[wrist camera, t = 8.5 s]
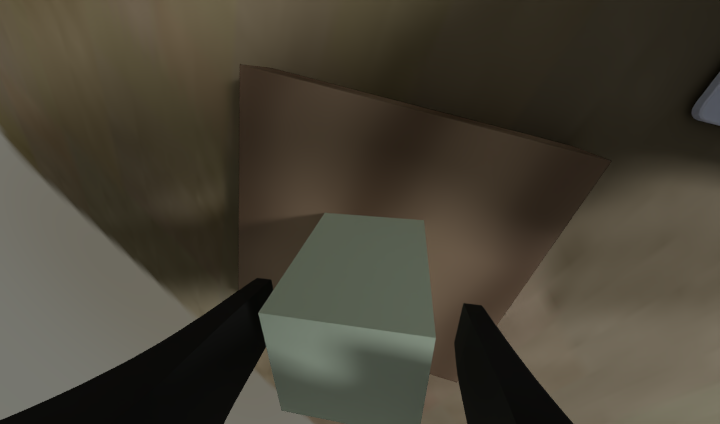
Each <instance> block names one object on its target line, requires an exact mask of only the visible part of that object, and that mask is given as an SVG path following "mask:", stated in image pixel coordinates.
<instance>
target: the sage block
mask: <svg viewBox="0 0 720 424" xmlns="http://www.w3.org/2000/svg"><path fill="white" fill-rule="evenodd" d="M258 314H259V318H260V322H261V327H262V331H263V335H264V339H265V343H266V348H267V352H268V356H269V360H270V364H271V368H272V373H273V377H274V381H275V385H276V389H277V393H278V398H279V402H280V406H281V410H282V411H287V412H292V413H296V414H301V415H306V416H311V417H316V418H321V419H326V420H331V421H336V422H341V423H346V424H421V418H422V413H423V407H424V401H425V396H426V390H427V385H428V379H429V374H430V368H431V363H432V357H433V351H434V346H435V340H436V334H435V324H434V314H433V305H432V295H431V285H430V275H429V265H428V255H427V246H426V236H425V226H424V220H415V219H401V218H388V217H374V216H361V215H347V214H334V213H324V215H323V216H322V218H321V219H320V221H319V222H318V224H317V225H316V227H315V228H314V230H313V231H312V233H311V234H310V236H309V237H308V239H307V240H306V242H305V243H304V245H303V246H302V248H301V249H300V251H299V252H298V254H297V255H296V257H295V258H294V260H293V261H292V263H291V264H290V266H289V267H288V269H287V270H286V272H285V273H284V275H283V276H282V278H281V279H280V281H279V282H278V284H277V285H276V287H275V288H274V290H273V291H272V293H271V294H270V296H269V297H268V299H267V300H266V302H265V303H264V305H263V306H262V308H261V309H260V311H259V313H258Z"/></svg>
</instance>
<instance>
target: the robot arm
mask: <svg viewBox="0 0 720 424" xmlns="http://www.w3.org/2000/svg"><path fill="white" fill-rule="evenodd" d="M692 116H693V118H694V119H696V120H698V121H702V122H706V123H710V124H714V125H718V126H720V72H719V73H718V75H717V76H716V77H715V78H714V80H713V81H712V82H711V84H710V85H709V86H708V88H707V89H706V90H705V91H704V93H703V94H702V95H701V97H700V98H699V99H698V100H697V102H696V103H695V105H694V106H693V108H692ZM272 291H273V285H272V280H271V279H263V278H256V279H255V280H253V281H251V282H250V283H249V284H247V285H246V286H244V287H243V288H241V289H240V290H239V291H237V292H236V293H234V294H233V295H231V296H230V297H229V298H227V299H226V300H224V301H223V302H222V303H220V304H219V305H217V306H216V307H214V308H213V309H211V310H210V311H209V312H207V313H206V314H204V315H203V316H201V317H200V318H198V319H197V320H195V321H193V322H192V323H190V324H189V325H187V326H186V327H184V328H183V329H181V330H179V331H178V332H176V333H175V334H173V335H172V336H170V337H168V338H167V339H165V340H164V341H162V342H160V343H158V344H157V345H155V346H153V347H152V348H150V349H148V350H146V351H144V352H143V353H141V354H139V355H137V356H136V357H134V358H132V359H130V360H128V361H127V362H125V363H123V364H121V365H119V366H117V367H115V368H113V369H111V370H109V371H107V372H105V373H103V374H101V375H99V376H97V377H95V378H93V379H91V380H89V381H87V382H85V383H83V384H81V385H79V386H77V387H75V388H73V389H71V390H69V391H66V392H64V393H62V394H60V395H57V396H55V397H53V398H51V399H49V400H47V401H44V402H42V403H40V404H37V405H35V406H33V407H31V408H28V409H26V410H24V411H22V412H19V413H17V414H14V415H12V416H10V417H7V418H5V419H2V420H0V424H224V422H225V420H226V418H227V416H228V414H229V412H230V410H231V408H232V407H233V404H234V403H235V401H236V399H237V397H238V396H239V394H240V392H241V390H242V389H243V387H244V385H245V383H246V381H247V379H248V378H249V376H250V374H251V373H252V371H253V369H254V367H255V366H256V364H257V362H258V360H259V358H260V357H261V355H262V353H263V351H264V349H265V348H266V343H265V339H264V335H263V331H262V327H261V322H260V318H259V314H258V313H259V311H260V309H261V308H262V306H263V305H264V303H265V302H266V300H267V299H268V297H269V296H270V294H271V293H272ZM454 348H455V358H456V368H457V376H458V381H459V386H460V390H461V395H462V400H463V405H464V410H465V414H466V419H467V424H573V423H572V421H571V420H570V419H569V418H568V417H567V416H566V415H565V413H564V412H563V411H562V410H561V409H560V408H559V406H558V405H557V404H556V403H555V402H554V400H553V399H552V398H551V397H550V396H549V394H548V393H547V392H546V391H545V390H544V388H543V387H542V386H541V385H540V383H539V382H538V381H537V380H536V378H535V377H534V376H533V375H532V373H531V372H530V371H529V369H528V368H527V367H526V366H525V364H524V363H523V362H522V360H521V359H520V358H519V356H518V355H517V354H516V352H515V351H514V350H513V348H512V347H511V346H510V344H509V343H508V341H507V340H506V339H505V337H504V336H503V334H502V333H501V332H500V330H499V329H498V327H497V326H496V325H495V323H494V322H493V320H492V319H491V317H490V316H489V314H488V313H487V311H486V310H485V308H484V307H483V306H482V305H476V304H467V303H463V307H462V311H461V315H460V319H459V324H458V328H457V332H456V337H455V341H454Z"/></svg>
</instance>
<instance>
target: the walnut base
mask: <svg viewBox="0 0 720 424" xmlns="http://www.w3.org/2000/svg"><path fill="white" fill-rule="evenodd" d="M610 163H611V160H608V159H605V158H603V157H600V156H597V155H595V154H592V153H589V152H587V151H584V150H582V149H579V148H576V147H574V146H570V145H566V144H563V143H559V142H555V141H551V140H547V139H543V138H539V137H535V136H532V135H528V134H524V133H520V132H516V131H512V130H508V129H505V128H501V127H497V126H493V125H489V124H485V123H481V122H478V121H474V120H470V119H466V118H462V117H458V116H454V115H451V114H447V113H443V112H439V111H435V110H431V109H427V108H423V107H420V106H416V105H412V104H408V103H404V102H400V101H396V100H393V99H389V98H385V97H381V96H377V95H373V94H369V93H366V92H362V91H358V90H354V89H350V88H346V87H342V86H338V85H335V84H331V83H327V82H323V81H319V80H315V79H311V78H308V77H304V76H300V75H296V74H292V73H288V72H284V71H281V70H277V69H273V68H267V67H258V66H250V65H241V64H240V108H239V281H238V291H239V290H240V289H241V288H243V287H244V286H246V285H247V284H249V283H250V282H251V281H253V280H255V279H256V278H263V279H271V280H272V285H273V290H274V288H275V287H276V285H277V284H278V282H279V281H280V279H281V278H282V276H283V275H284V273H285V272H286V270H287V269H288V267H289V266H290V264H291V263H292V261H293V260H294V258H295V257H296V255H297V254H298V252H299V251H300V249H301V248H302V246H303V245H304V243H305V242H306V240H307V239H308V237H309V236H310V234H311V233H312V231H313V230H314V228H315V227H316V225H317V224H318V222H319V221H320V219H321V218H322V216H323V215H324V213H334V214H347V215H361V216H374V217H388V218H401V219H415V220H424V226H425V236H426V246H427V255H428V265H429V275H430V285H431V295H432V305H433V314H434V324H435V334H436V340H435V346H434V351H433V357H432V363H431V368H430V374H431V375H434V376H438V377H441V378H444V379H447V380H450V381H454V382H458V376H457V368H456V358H455V348H454V341H455V337H456V332H457V328H458V324H459V319H460V315H461V311H462V307H463V303H467V304H476V305H482V306H483V307H484V308H485V310H486V311H487V313H488V314H489V316H490V317H491V319H492V320H493V322H494V323H495V325H496V326H497V324H498V323H499V322H500V320H501V319H502V317H503V316H504V314H505V313H506V311H507V310H508V309H509V307H510V306H511V304H512V303H513V301H514V300H515V299H516V297H517V296H518V294H519V293H520V291H521V290H522V289H523V287H524V286H525V284H526V283H527V281H528V280H529V279H530V277H531V276H532V274H533V273H534V271H535V270H536V269H537V267H538V266H539V264H540V263H541V261H542V260H543V259H544V257H545V256H546V254H547V253H548V251H549V250H550V249H551V247H552V246H553V244H554V243H555V241H556V240H557V239H558V237H559V236H560V234H561V233H562V231H563V230H564V229H565V227H566V226H567V224H568V223H569V221H570V220H571V219H572V217H573V216H574V214H575V213H576V211H577V210H578V209H579V207H580V206H581V204H582V203H583V201H584V200H585V199H586V197H587V196H588V194H589V193H590V191H591V190H592V189H593V187H594V186H595V184H596V183H597V181H598V180H599V179H600V177H601V176H602V174H603V173H604V171H605V170H606V169H607V167H608V166H609V164H610Z"/></svg>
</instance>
